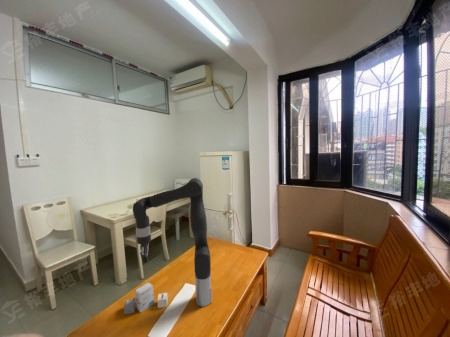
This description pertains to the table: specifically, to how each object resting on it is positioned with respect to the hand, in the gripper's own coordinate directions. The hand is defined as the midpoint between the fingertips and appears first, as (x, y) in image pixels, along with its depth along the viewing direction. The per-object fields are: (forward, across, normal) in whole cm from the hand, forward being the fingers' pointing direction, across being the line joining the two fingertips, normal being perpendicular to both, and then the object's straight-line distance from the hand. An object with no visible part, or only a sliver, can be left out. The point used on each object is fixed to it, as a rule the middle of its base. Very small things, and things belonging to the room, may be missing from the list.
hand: (145, 261), depth 109 cm
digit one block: (+27, -2, -8) cm, 28 cm away
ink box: (+27, -1, +2) cm, 27 cm away
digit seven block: (+27, -2, +10) cm, 29 cm away
